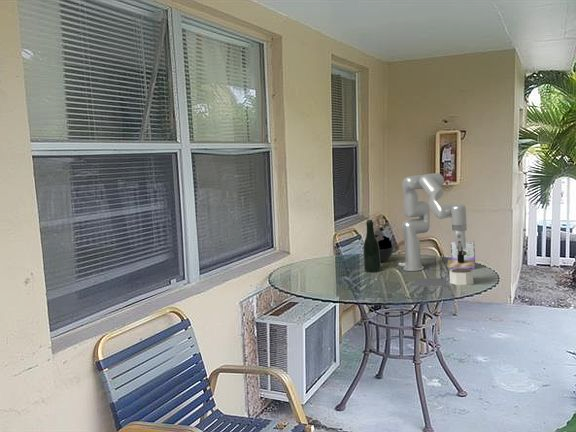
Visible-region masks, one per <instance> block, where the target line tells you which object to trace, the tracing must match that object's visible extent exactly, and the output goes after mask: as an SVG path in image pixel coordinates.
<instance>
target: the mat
mask: <svg viewBox="0 0 576 432" xmlns="http://www.w3.org/2000/svg"><path fill="white" fill-rule="evenodd" d="M446 282H447V278H444V277H443V278H441V277H440V278H439V277H438V278H435V277H432V278H428V277H425V278H424V277H423V278H420V277H419V278H418V277H417V278H416V277H415V280H414V281H413V283H412V286H418V287H420V286H421V287H422V286H423V287H424V286H425V287H426V286H427V287H428V286H432V287H445V286H446Z"/></svg>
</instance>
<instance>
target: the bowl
mask: <svg viewBox="0 0 576 432" xmlns="http://www.w3.org/2000/svg"><path fill="white" fill-rule="evenodd" d="M449 283H450V284H452V285H455V286H468V285H471V286H473V285H474V269H467V268H456V269H452V268H451V269H449ZM472 284H473V285H472Z"/></svg>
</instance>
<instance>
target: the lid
mask: <svg viewBox="0 0 576 432" xmlns="http://www.w3.org/2000/svg"><path fill="white" fill-rule="evenodd" d="M463 255H464V253H463ZM446 267H447V268H452V267H475V268H476V259H475V260H464V262H458V260H452V259H448V260H447V263H446Z"/></svg>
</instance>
